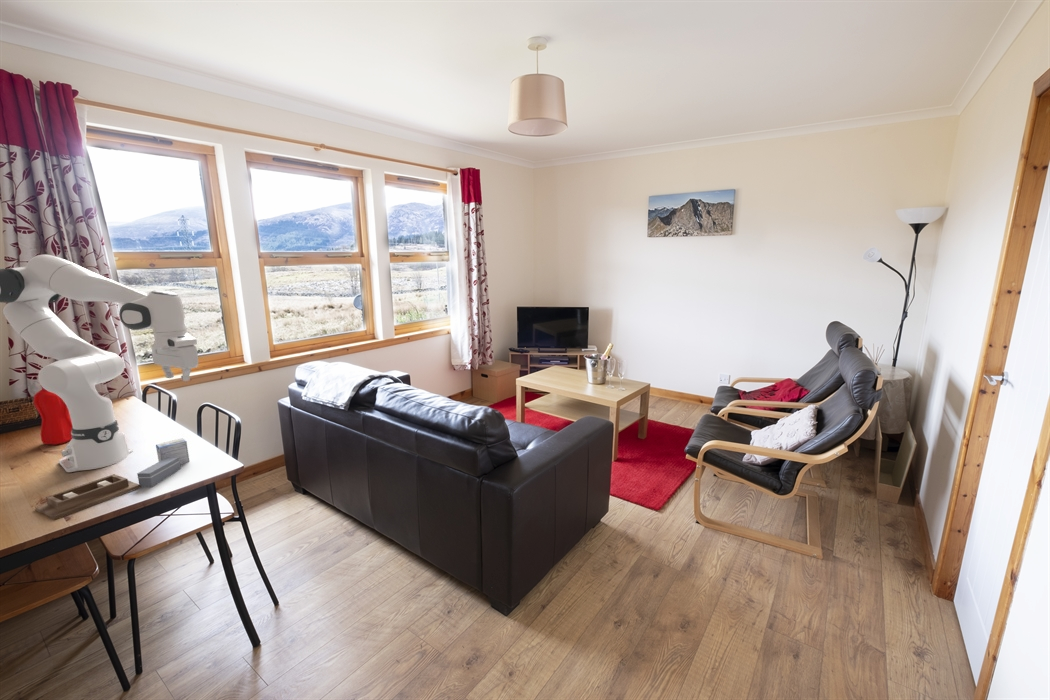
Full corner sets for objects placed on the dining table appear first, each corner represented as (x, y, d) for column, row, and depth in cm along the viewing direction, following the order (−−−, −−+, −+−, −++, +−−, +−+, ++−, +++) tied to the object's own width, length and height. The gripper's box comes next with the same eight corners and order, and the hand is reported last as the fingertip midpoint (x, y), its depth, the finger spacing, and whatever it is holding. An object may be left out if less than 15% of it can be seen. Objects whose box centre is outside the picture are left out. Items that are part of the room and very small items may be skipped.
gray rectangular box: (139, 488, 143) (136, 473, 142) (169, 471, 155) (167, 457, 154) (152, 488, 143) (149, 473, 142) (181, 470, 155) (178, 457, 154)
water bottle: (87, 435, 187) (76, 377, 183) (58, 446, 177) (45, 384, 172) (68, 435, 188) (56, 376, 184) (37, 445, 178) (24, 383, 173)
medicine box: (186, 460, 163) (183, 437, 161) (190, 463, 160) (186, 440, 159) (159, 467, 157) (155, 444, 155) (162, 471, 154) (158, 447, 153)
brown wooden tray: (35, 510, 130) (33, 498, 129) (120, 480, 148) (118, 470, 147) (55, 519, 125) (52, 508, 124) (140, 487, 143) (138, 477, 142)
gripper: (143, 338, 153) (149, 378, 155) (178, 342, 144) (185, 384, 147) (164, 336, 158) (170, 374, 161) (199, 339, 150) (205, 379, 152)
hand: (177, 379), depth 154 cm, fingers open, 8 cm apart
